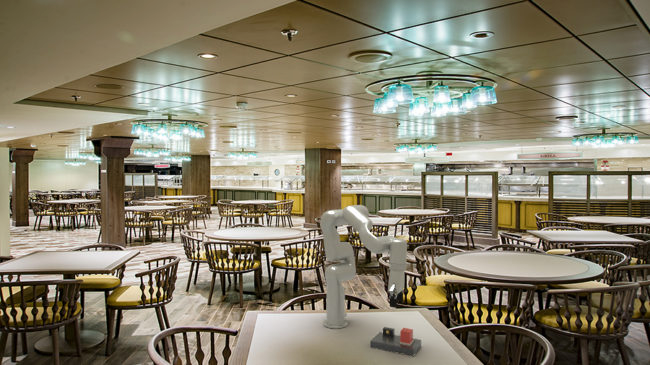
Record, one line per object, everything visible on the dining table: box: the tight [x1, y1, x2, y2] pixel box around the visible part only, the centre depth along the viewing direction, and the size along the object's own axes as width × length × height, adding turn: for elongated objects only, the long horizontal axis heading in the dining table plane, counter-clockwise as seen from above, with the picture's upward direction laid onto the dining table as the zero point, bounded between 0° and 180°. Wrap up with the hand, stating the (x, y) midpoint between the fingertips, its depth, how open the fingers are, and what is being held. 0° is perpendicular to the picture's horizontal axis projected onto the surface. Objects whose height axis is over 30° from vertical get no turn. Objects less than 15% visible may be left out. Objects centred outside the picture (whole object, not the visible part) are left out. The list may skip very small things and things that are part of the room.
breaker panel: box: [369, 327, 422, 356], centre depth 193 cm, size 12×20×6 cm, turn 62°
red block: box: [399, 327, 414, 344], centre depth 191 cm, size 4×4×5 cm
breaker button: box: [400, 340, 414, 346], centre depth 191 cm, size 5×5×3 cm
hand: (396, 304), depth 192 cm, fingers open, 9 cm apart
